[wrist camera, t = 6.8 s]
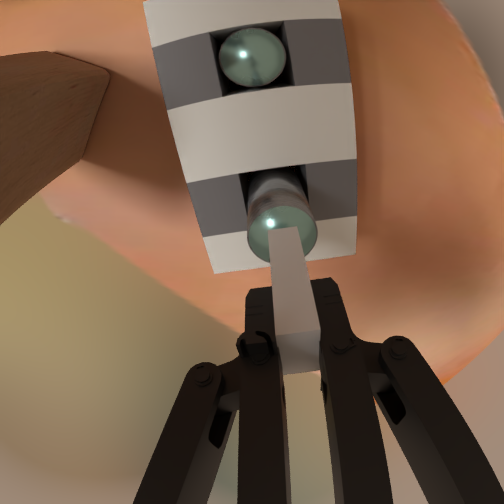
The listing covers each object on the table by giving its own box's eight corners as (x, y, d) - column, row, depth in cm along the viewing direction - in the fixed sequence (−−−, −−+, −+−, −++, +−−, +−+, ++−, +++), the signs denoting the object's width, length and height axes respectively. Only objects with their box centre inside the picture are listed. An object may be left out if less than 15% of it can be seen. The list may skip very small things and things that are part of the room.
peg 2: (244, 167, 21) (240, 210, 15) (297, 159, 20) (316, 200, 15) (253, 213, 23) (253, 269, 17) (302, 206, 23) (319, 260, 17)
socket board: (170, 18, 17) (142, 2, 12) (310, -5, 16) (331, -28, 10) (221, 230, 30) (214, 273, 24) (336, 214, 29) (355, 254, 23)
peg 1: (224, 44, 19) (213, 34, 13) (272, 37, 18) (280, 23, 13) (233, 87, 21) (225, 92, 15) (280, 80, 21) (290, 82, 15)
